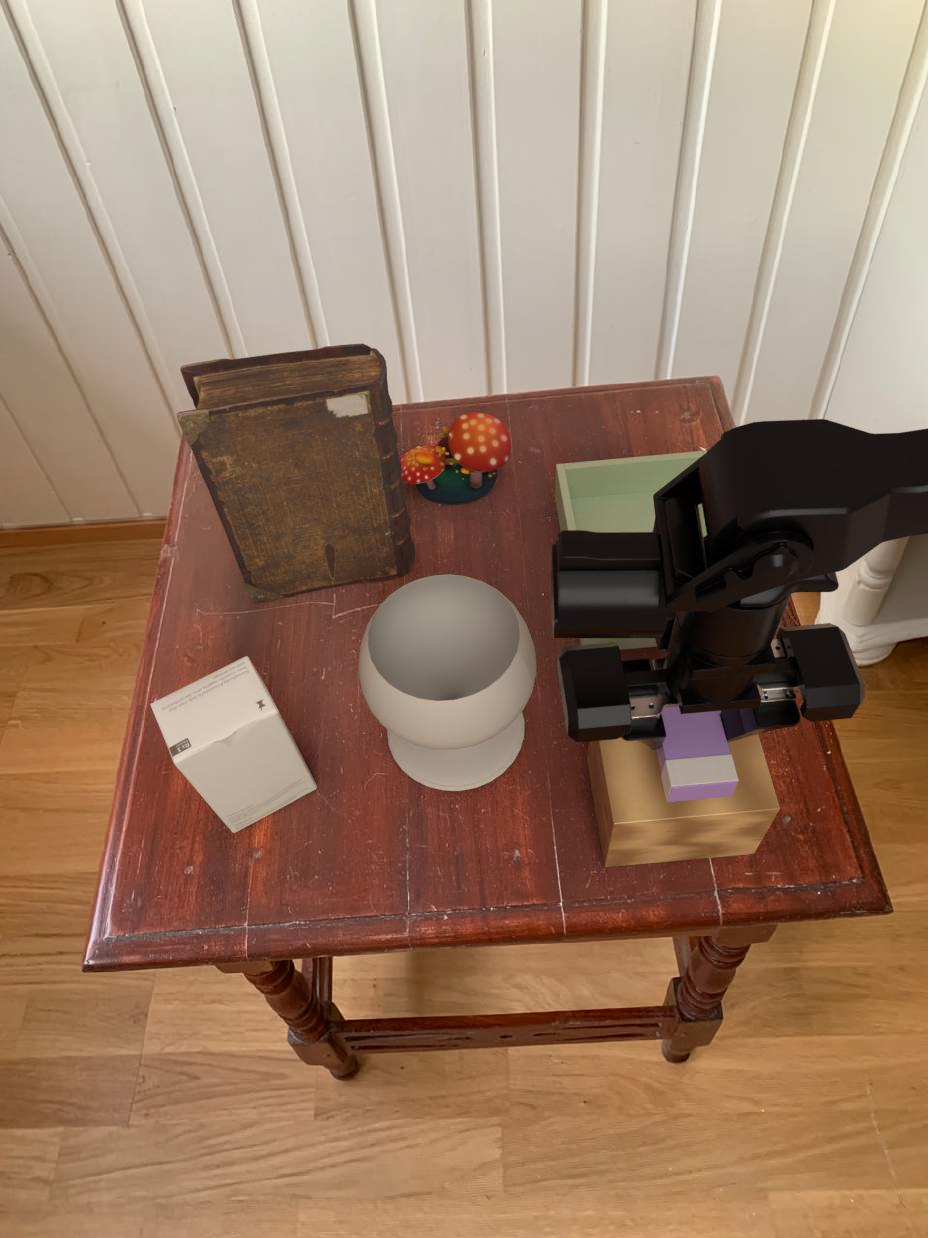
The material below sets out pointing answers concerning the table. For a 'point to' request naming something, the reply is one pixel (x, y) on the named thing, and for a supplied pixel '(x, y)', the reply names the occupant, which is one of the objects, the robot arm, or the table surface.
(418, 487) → the figurine
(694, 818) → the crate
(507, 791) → the table surface
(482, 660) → the chalice
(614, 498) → the tray
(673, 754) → the chocolate bar
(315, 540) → the book
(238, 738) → the cosmetic box
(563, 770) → the table surface
